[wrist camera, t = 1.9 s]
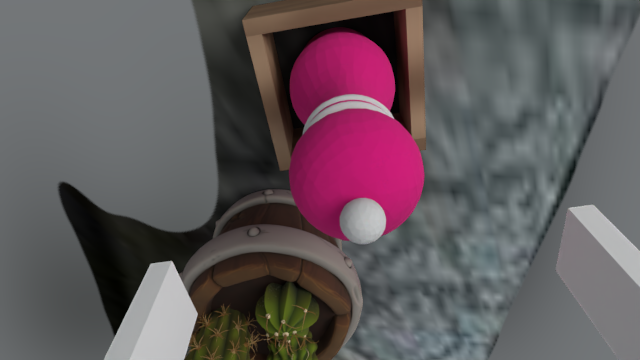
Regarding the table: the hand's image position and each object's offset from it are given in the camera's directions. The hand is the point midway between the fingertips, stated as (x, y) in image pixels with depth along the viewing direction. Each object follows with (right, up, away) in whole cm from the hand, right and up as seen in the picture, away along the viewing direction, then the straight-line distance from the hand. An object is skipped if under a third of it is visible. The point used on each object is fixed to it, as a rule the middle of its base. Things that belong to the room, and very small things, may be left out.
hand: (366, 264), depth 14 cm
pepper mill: (0, +12, +18) cm, 21 cm away
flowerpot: (-6, -2, +27) cm, 27 cm away
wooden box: (0, +12, +18) cm, 21 cm away
